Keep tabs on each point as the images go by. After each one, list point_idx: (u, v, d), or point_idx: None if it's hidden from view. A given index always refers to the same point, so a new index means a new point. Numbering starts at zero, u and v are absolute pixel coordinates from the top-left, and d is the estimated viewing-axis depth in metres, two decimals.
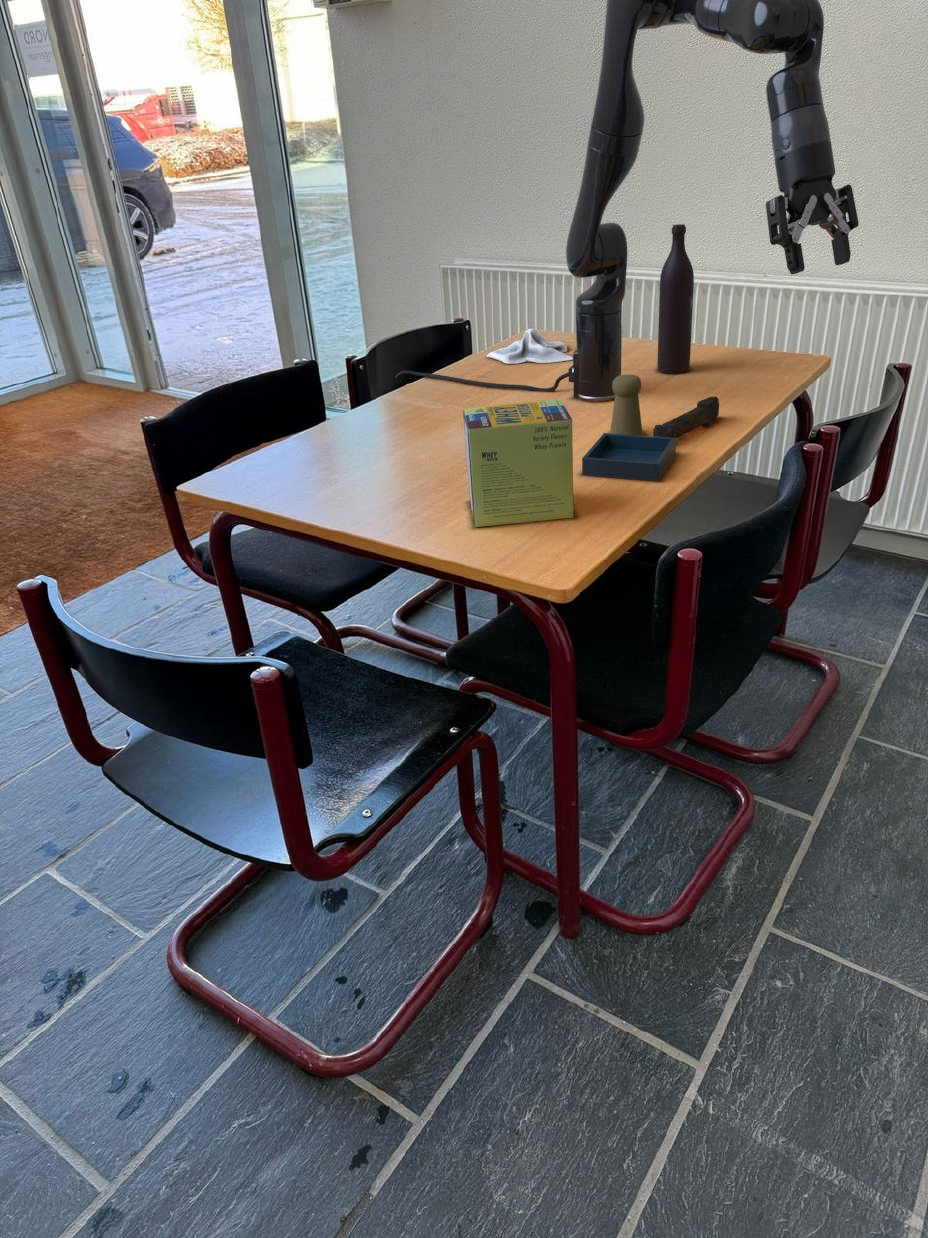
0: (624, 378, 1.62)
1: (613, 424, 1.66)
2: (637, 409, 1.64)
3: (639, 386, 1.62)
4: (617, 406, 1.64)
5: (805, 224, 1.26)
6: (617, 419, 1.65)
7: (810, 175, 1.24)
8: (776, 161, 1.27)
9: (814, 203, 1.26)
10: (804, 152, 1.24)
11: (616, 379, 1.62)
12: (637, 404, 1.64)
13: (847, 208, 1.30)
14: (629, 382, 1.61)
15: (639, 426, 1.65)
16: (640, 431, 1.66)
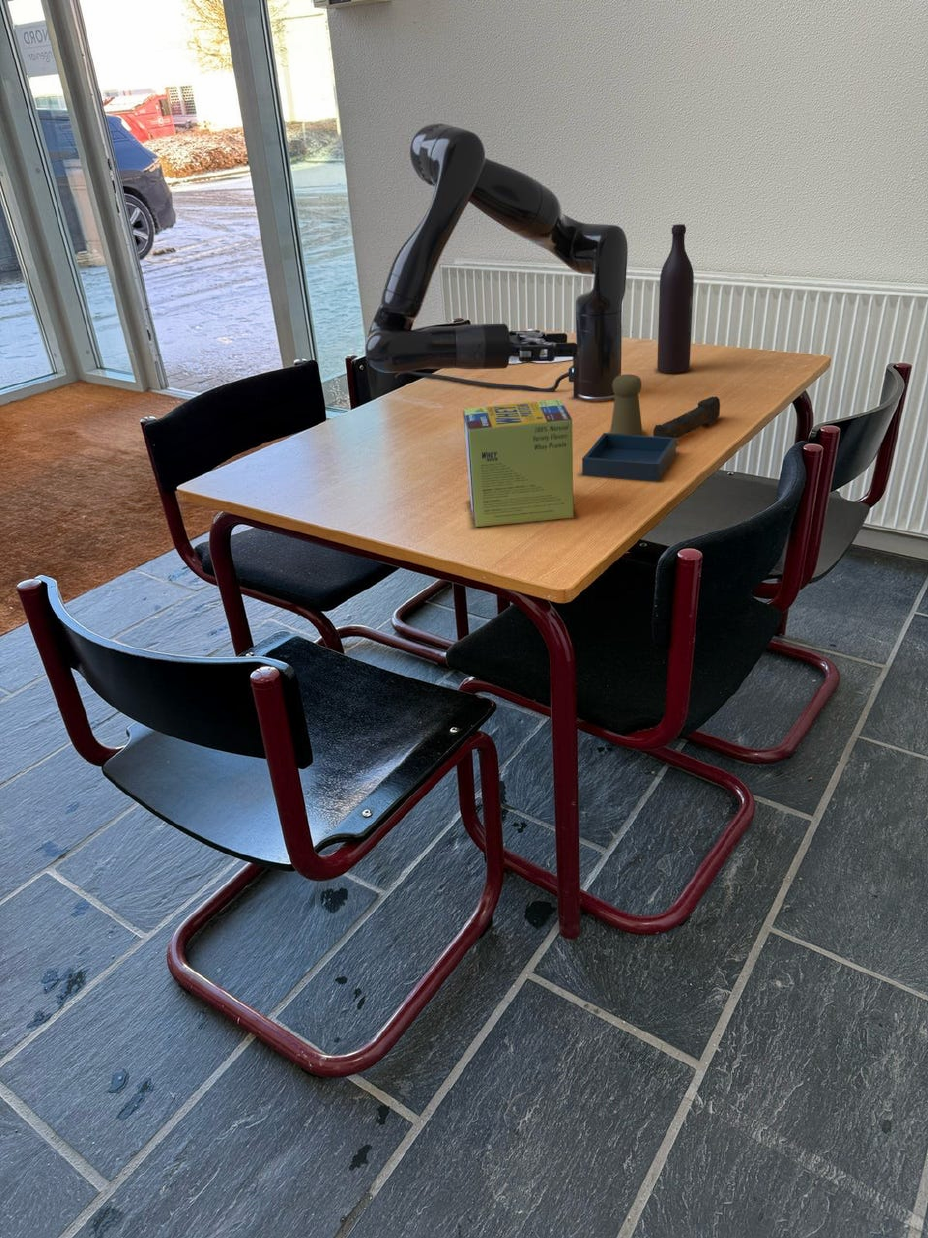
0: (624, 378, 1.62)
1: (613, 424, 1.66)
2: (637, 409, 1.64)
3: (639, 386, 1.62)
4: (617, 406, 1.64)
5: None
6: (617, 419, 1.65)
7: None
8: None
9: None
10: None
11: (616, 379, 1.62)
12: (637, 404, 1.64)
13: None
14: (629, 382, 1.61)
15: (639, 426, 1.65)
16: (640, 431, 1.66)
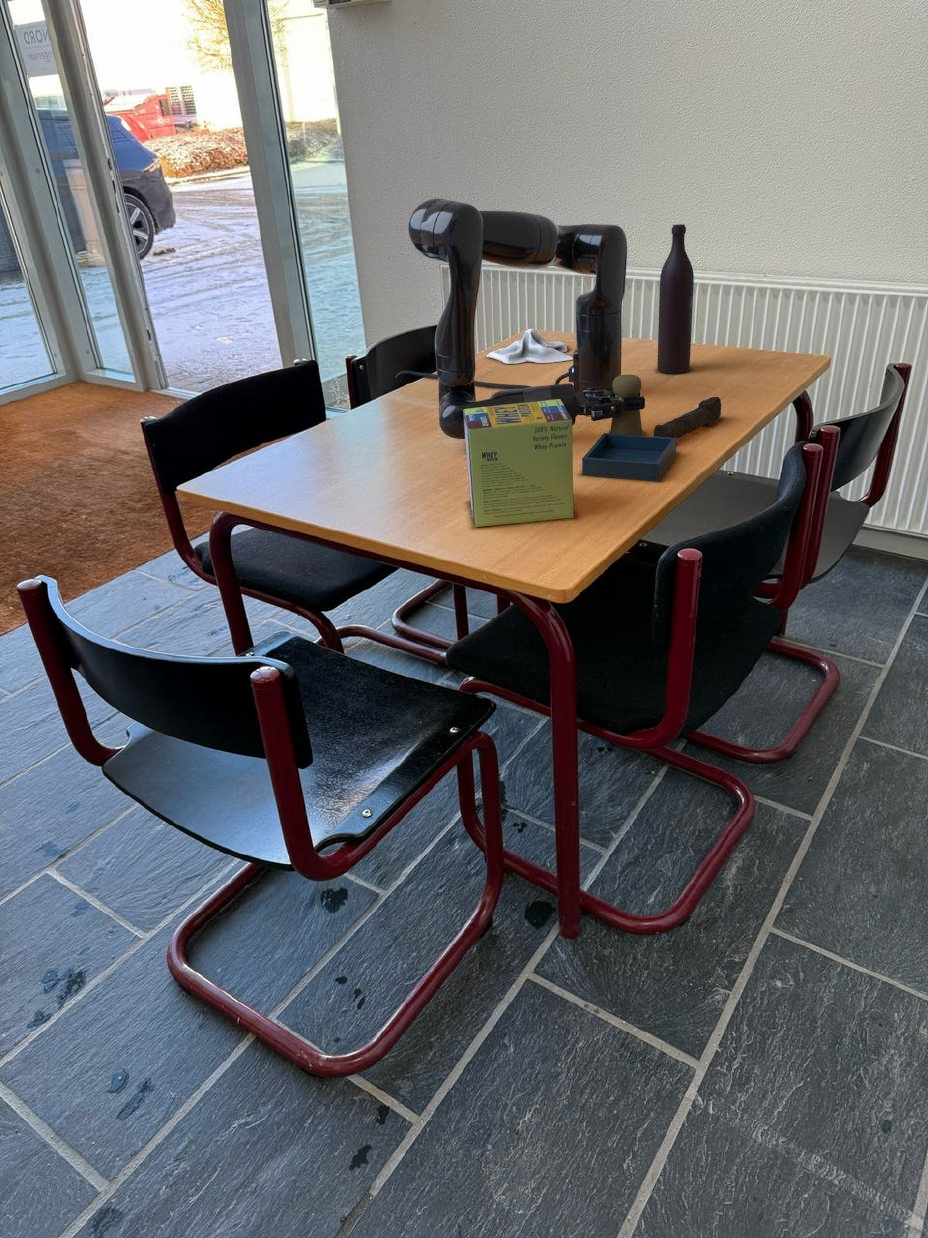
0: (624, 378, 1.62)
1: (613, 424, 1.66)
2: None
3: (639, 386, 1.62)
4: None
5: None
6: (617, 419, 1.65)
7: None
8: None
9: None
10: None
11: (616, 379, 1.62)
12: None
13: None
14: (629, 382, 1.61)
15: (639, 426, 1.65)
16: (640, 431, 1.66)
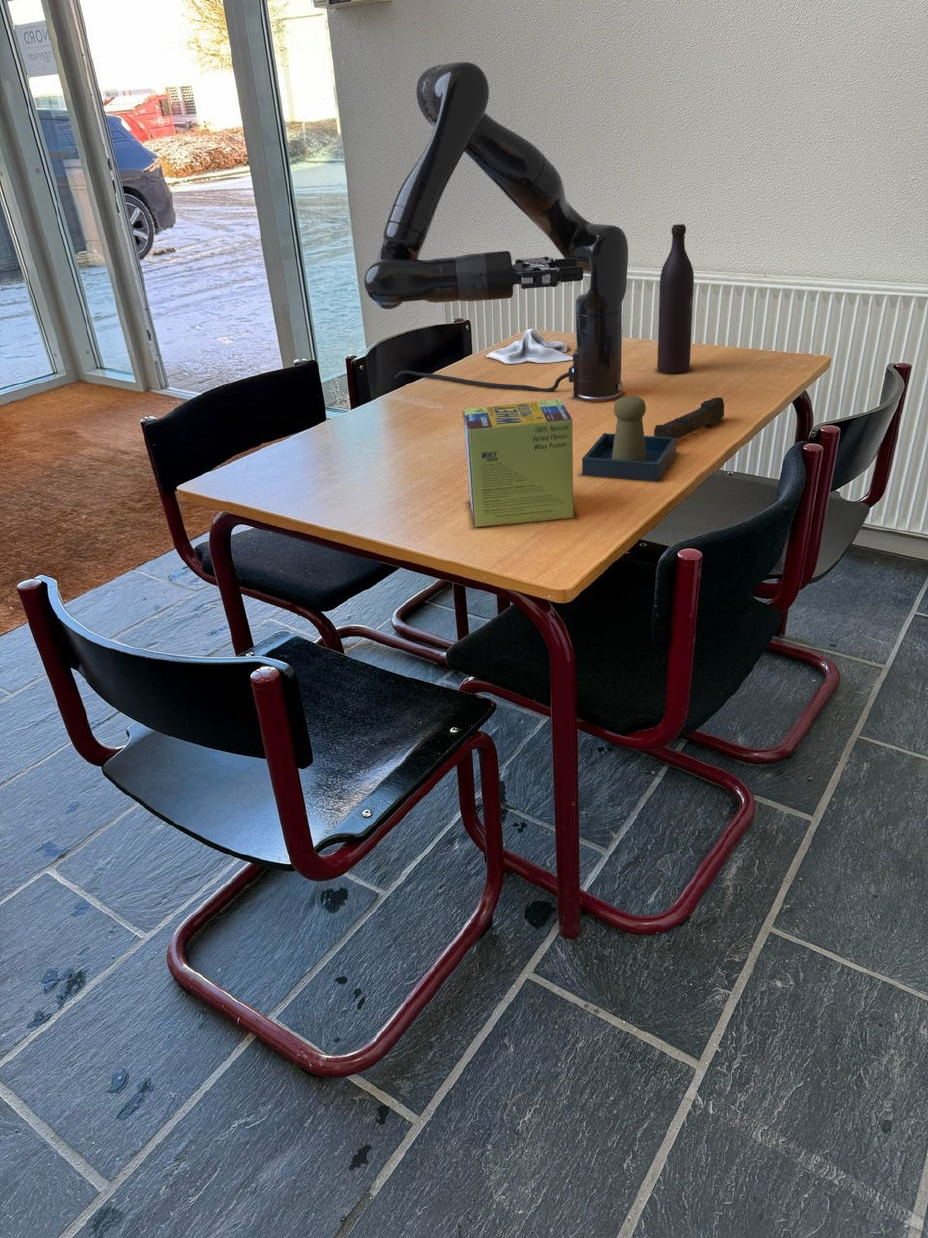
0: (626, 400, 1.48)
1: (615, 450, 1.53)
2: (641, 434, 1.51)
3: (643, 409, 1.49)
4: (619, 430, 1.51)
5: None
6: (619, 444, 1.51)
7: None
8: None
9: None
10: None
11: (618, 401, 1.49)
12: (641, 428, 1.50)
13: None
14: (632, 405, 1.48)
15: (643, 452, 1.52)
16: (644, 457, 1.53)
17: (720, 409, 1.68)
